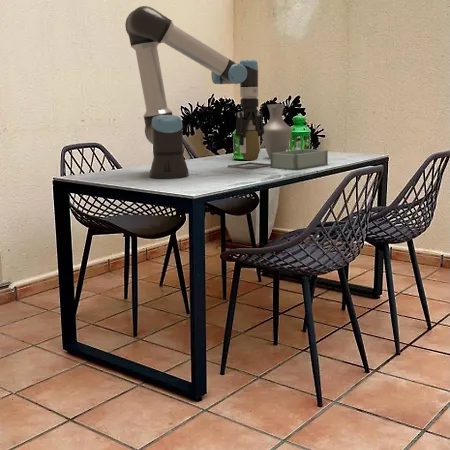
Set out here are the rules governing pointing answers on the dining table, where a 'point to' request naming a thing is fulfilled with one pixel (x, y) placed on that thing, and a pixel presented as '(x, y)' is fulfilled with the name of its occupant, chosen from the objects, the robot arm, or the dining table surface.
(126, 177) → the dining table surface
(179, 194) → the dining table surface
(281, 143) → the vase
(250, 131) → the squeeze bottle
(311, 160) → the bin
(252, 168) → the brown flat square frame
